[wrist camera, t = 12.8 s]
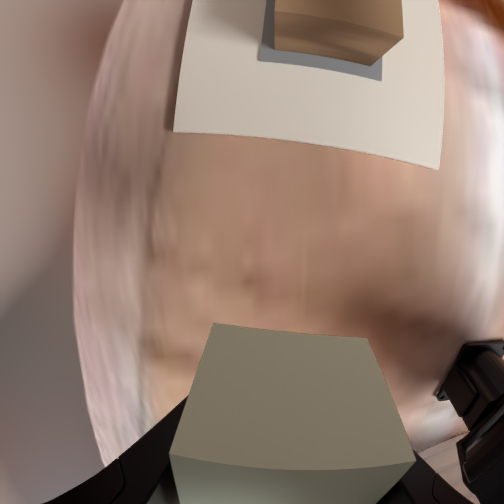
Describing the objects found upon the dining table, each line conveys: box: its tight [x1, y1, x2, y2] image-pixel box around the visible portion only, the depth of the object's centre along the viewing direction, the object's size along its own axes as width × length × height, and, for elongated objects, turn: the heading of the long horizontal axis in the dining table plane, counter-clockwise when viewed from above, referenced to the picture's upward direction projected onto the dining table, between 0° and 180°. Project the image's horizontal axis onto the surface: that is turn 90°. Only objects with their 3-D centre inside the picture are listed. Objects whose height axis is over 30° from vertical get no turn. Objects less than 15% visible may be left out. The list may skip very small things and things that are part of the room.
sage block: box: [169, 323, 416, 504], centre depth 7 cm, size 4×4×4 cm
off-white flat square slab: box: [173, 0, 444, 170], centre depth 13 cm, size 16×16×1 cm
